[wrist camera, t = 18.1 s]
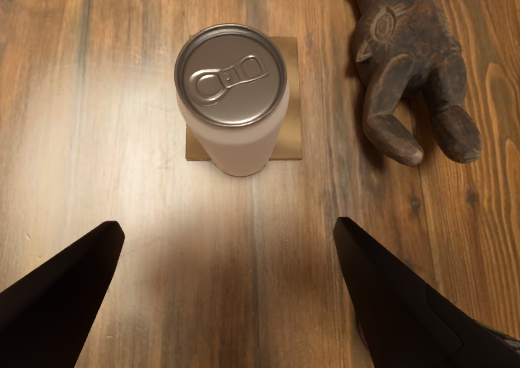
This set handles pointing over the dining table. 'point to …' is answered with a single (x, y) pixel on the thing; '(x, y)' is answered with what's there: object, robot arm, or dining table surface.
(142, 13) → the dining table surface
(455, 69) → the sculpture
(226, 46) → the can
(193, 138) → the board
